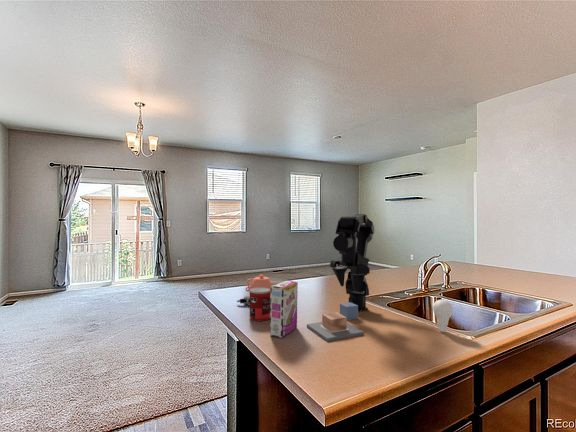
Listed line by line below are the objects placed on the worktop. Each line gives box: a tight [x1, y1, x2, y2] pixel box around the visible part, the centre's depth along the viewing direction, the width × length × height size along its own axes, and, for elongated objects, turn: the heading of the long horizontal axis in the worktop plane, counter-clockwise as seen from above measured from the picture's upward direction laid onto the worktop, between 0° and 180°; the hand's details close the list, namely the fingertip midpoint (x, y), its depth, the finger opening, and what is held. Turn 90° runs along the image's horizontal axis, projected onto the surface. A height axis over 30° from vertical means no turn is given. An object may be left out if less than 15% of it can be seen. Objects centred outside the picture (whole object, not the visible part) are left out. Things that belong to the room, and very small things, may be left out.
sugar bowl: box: [245, 274, 273, 295], centre depth 155 cm, size 12×14×10 cm
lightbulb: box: [432, 299, 454, 333], centre depth 105 cm, size 6×6×11 cm
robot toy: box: [236, 294, 271, 306], centre depth 138 cm, size 12×4×15 cm
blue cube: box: [339, 301, 359, 321], centre depth 121 cm, size 5×5×5 cm
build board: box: [306, 321, 364, 342], centre depth 107 cm, size 14×14×1 cm
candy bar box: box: [269, 280, 299, 339], centre depth 106 cm, size 11×5×16 cm, turn 152°
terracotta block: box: [321, 312, 348, 332], centre depth 107 cm, size 6×6×4 cm
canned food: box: [249, 288, 271, 322], centre depth 120 cm, size 8×8×11 cm
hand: (348, 288), depth 121 cm, fingers open, 9 cm apart
